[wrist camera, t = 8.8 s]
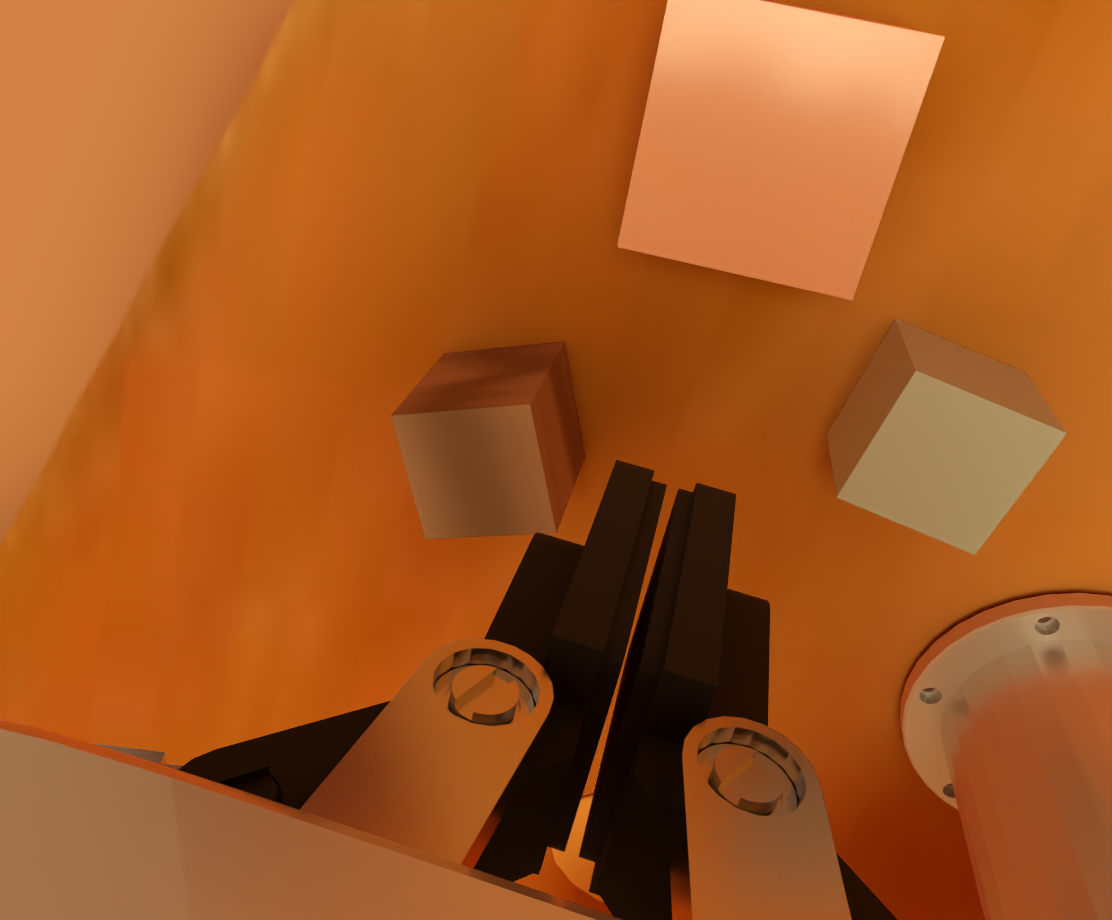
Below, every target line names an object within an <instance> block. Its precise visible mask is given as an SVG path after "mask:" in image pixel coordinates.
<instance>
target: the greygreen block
mask: <svg viewBox="0 0 1112 920" xmlns="http://www.w3.org/2000/svg"><path fill="white" fill-rule="evenodd" d="M1066 434H1067V432H1066V431H1065V429H1064V428H1063V426H1062V425H1061V423H1060V422H1059V420H1058V419H1057V418H1056V416H1055V415H1054V413H1053V412H1052V410H1051V409H1050V407H1049V406H1048V404H1047V403H1046V401H1045V400H1044V398H1043V397H1042V396H1041V394H1040V393H1039V391H1038V390H1037V388H1036V387H1035V385H1034V384H1033V382H1032V381H1031V379H1030V378H1029V376H1028V375H1027V374H1026V373H1025V372H1023V371H1021V370H1018V369H1016V368H1013V367H1011V366H1009V365H1006V364H1004V363H1001V362H999V361H996V360H994V359H992V358H989V357H987V356H984V355H982V354H980V353H977V352H975V351H972V350H970V349H967V348H965V347H963V346H960V345H958V344H955V343H953V342H951V341H948V340H946V339H943V338H941V337H938V336H936V335H934V334H931V333H929V332H926V331H924V330H922V329H919V328H917V327H914V326H912V325H909V324H907V323H905V322H902V321H900V320H897V319H894V321H893V323H892V324H891V326H890V328H889V330H888V331H887V333H886V335H885V336H884V338H883V340H882V341H881V343H880V345H879V346H878V348H877V350H876V352H875V353H874V355H873V357H872V358H871V360H870V362H869V363H868V365H867V367H866V368H865V370H864V372H863V373H862V375H861V377H860V379H859V380H858V382H857V384H856V385H855V387H854V389H853V390H852V392H851V394H850V395H849V397H848V399H847V401H846V402H845V404H844V406H843V407H842V409H841V411H840V412H839V414H838V416H837V417H836V419H835V421H834V423H833V424H832V426H831V428H830V429H829V431H828V433H827V437H828V444H829V451H830V458H831V464H832V471H833V478H834V485H835V492H836V498H839V499H841V500H843V501H846V502H848V503H851V504H853V505H855V506H858V507H860V508H863V509H865V510H867V511H870V512H872V513H875V514H877V515H879V516H882V517H884V518H887V519H889V520H891V521H894V522H896V523H899V524H901V525H904V526H906V527H908V528H911V529H913V530H916V531H918V532H920V533H923V534H925V535H928V536H930V537H932V538H935V539H937V540H940V541H942V542H944V543H947V544H949V545H952V546H954V547H956V548H959V549H961V550H964V551H966V552H968V553H971V554H973V555H975V554H976V553H977V552H978V550H979V549H980V548H981V546H982V545H983V544H984V542H985V541H986V540H987V538H988V537H989V536H990V534H991V533H992V532H993V531H994V529H995V528H996V527H997V525H998V524H999V523H1000V521H1001V520H1002V519H1003V517H1004V516H1005V515H1006V513H1007V512H1008V511H1009V509H1010V508H1011V507H1012V505H1013V504H1014V503H1015V501H1016V500H1017V499H1018V498H1019V496H1020V495H1021V494H1022V492H1023V491H1024V490H1025V488H1026V487H1027V486H1028V484H1029V483H1030V482H1031V480H1032V479H1033V478H1034V476H1035V475H1036V474H1037V472H1038V471H1039V470H1040V469H1041V467H1042V466H1043V465H1044V463H1045V462H1046V461H1047V459H1048V458H1049V457H1050V455H1051V454H1052V453H1053V451H1054V450H1055V449H1056V447H1057V446H1058V445H1059V443H1060V442H1061V441H1062V440H1063V438H1064V437H1065V436H1066Z"/></svg>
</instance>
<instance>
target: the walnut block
mask: <svg viewBox="0 0 1112 920" xmlns="http://www.w3.org/2000/svg"><path fill="white" fill-rule="evenodd" d="M391 418H392V422H393V426H394V429H395V433H396V436H397V440H398V443H399V447H400V451H401V454H402V458H403V461H404V465H405V468H406V472H407V475H408V479H409V483H410V486H411V490H412V493H413V497H414V500H415V504H416V508H417V511H418V515H419V518H420V522H421V525H422V529H423V533H424V536H425V539H434V538H457V537H480V536H503V535H525V534H535V533H537V532H539V533H542V534H548V533H557V530H558V527H559V525H560V522H561V519H562V517H563V514H564V511H565V508H566V506H567V503H568V500H569V498H570V495H571V492H572V490H573V487H574V484H575V482H576V479H577V476H578V474H579V471H580V468H581V466H582V463H583V460H584V458H585V453H584V447H583V442H582V436H581V430H580V425H579V419H578V414H577V408H576V403H575V397H574V391H573V386H572V380H571V375H570V369H569V363H568V358H567V352H566V347H565V341H564V342H554V343H544V344H535V345H525V346H515V347H505V348H495V349H485V350H475V351H465V352H455V353H445V354H443V356H442V357H441V358H440V359H439V360H438V361H437V363H436V364H435V365H434V366H433V367H432V368H431V370H430V371H429V372H428V373H427V374H426V375H425V377H424V378H423V379H422V380H421V381H420V382H419V384H418V385H417V386H416V387H415V388H414V389H413V391H412V392H411V393H410V394H409V395H408V396H407V398H406V399H405V400H404V401H403V402H402V403H401V405H400V406H399V407H398V408H397V409H396V410H395V412H394V413H393V414H392V415H391Z"/></svg>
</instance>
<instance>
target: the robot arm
mask: <svg viewBox="0 0 1112 920" xmlns="http://www.w3.org/2000/svg"><path fill="white" fill-rule="evenodd" d="M653 474H654V471H653V470H650V469H646V468H643V467H639V466H636V465H632V464H629V463H626V462H622V461H619V460H616V463H615V465H614V468H613V471H612V474H611V476H610V479H609V482H608V484H607V487H606V490H605V492H604V495H603V498H602V500H601V503H600V506H599V508H598V511H597V514H596V517H595V519H594V522H593V525H592V527H591V530H590V533H589V535H588V538H587V541H586V543H585V546H582V545H579V544H576V543H572V542H569V541H565V540H562V539H559V538H555V537H552V536H549V535H545V534H542V533H539V532H537V533H535V535H534V537H533V538H532V540H531V542H530V544H529V547H528V549H527V551H526V553H525V555H524V557H523V559H522V561H521V563H520V565H519V567H518V570H517V572H516V574H515V576H514V578H513V580H512V582H511V584H510V586H509V588H508V591H507V593H506V595H505V597H504V599H503V601H502V603H501V605H500V607H499V609H498V611H497V614H496V616H495V618H494V620H493V622H492V624H491V626H490V628H489V630H488V632H487V634H486V637H485V639H467V640H460V641H455V642H452V643H450V644H447V645H445V646H442V647H440V648H438V649H437V650H436V651H435V652H433V653H432V654H431V655H430V656H429V657H427V658H426V659H425V661H424V662H423V663H422V664H421V665H420V667H419V668H418V669H417V670H416V671H415V673H414V674H413V675H412V676H411V677H410V678H409V680H408V681H407V682H406V683H405V684H404V686H403V687H402V688H401V689H400V690H399V692H398V693H397V694H396V695H395V696H394V698H393V699H392V700H391V701H388V702H385V703H381V704H378V705H374V706H370V707H367V708H363V709H360V710H356V711H352V712H349V713H345V714H342V715H338V716H334V717H331V718H327V719H324V720H320V721H316V722H313V723H309V724H306V725H302V726H298V727H295V728H291V729H288V730H284V731H281V732H277V733H273V734H270V735H266V736H263V737H259V738H255V739H252V740H248V741H245V742H241V743H237V744H234V745H230V746H227V747H223V748H219V749H216V750H213V751H211V752H209V753H206V754H204V755H201V756H199V757H196V758H194V759H192V760H191V761H189V762H188V763H187V764H185V765H184V766H178V765H169V764H165V752H158V751H150V750H142V749H134V748H126V747H118V746H110V745H101V744H93V743H89V742H85V741H82V740H78V739H75V738H71V737H68V736H64V735H61V734H57V733H54V732H50V731H47V730H43V729H40V728H36V727H32V726H27V725H22V724H17V723H12V722H7V721H2V720H0V920H897V919H896V918H895V917H894V916H893V915H892V913H891V912H890V911H889V910H888V909H887V908H886V907H885V906H884V905H883V904H882V902H881V901H880V900H879V899H878V898H877V897H876V896H875V895H874V894H873V893H872V891H871V890H870V889H869V888H868V887H867V886H866V885H865V884H864V883H863V882H862V881H861V879H860V878H859V877H858V876H857V875H856V874H855V873H854V872H853V871H852V870H851V868H850V867H849V866H848V865H847V864H846V863H845V862H844V861H843V860H842V859H841V858H840V856H839V855H838V854H837V853H836V850H835V846H834V842H833V837H832V833H831V829H830V824H829V820H828V816H827V812H826V807H825V803H824V799H823V794H822V790H821V786H820V782H819V780H818V777H817V775H816V773H815V770H814V768H813V766H812V764H811V763H810V762H809V760H808V759H807V758H806V756H805V755H804V754H803V753H802V751H801V750H800V749H799V748H798V747H797V746H796V745H794V744H793V743H792V742H791V741H790V740H788V739H787V738H786V737H785V736H784V735H782V734H780V733H778V732H777V731H775V730H773V729H771V728H769V727H768V690H769V637H770V604H769V602H768V601H767V600H763V599H760V598H757V597H753V596H750V595H747V594H743V593H740V592H737V591H733V590H730V589H727V585H728V575H729V564H730V554H731V543H732V533H733V522H734V512H735V501H736V494H734V493H730V492H727V491H723V490H720V489H716V488H713V487H709V486H706V485H702V484H699V483H697V484H696V486H695V488H694V491H693V492H689V491H686V490H682V489H679V490H678V492H677V495H676V498H675V502H674V505H673V508H672V511H671V514H670V518H669V521H668V524H667V527H666V531H665V534H664V537H663V540H662V544H661V547H660V550H659V553H658V556H657V560H656V563H655V566H654V569H653V573H652V576H651V579H650V582H649V586H648V589H647V592H646V595H645V598H644V602H643V605H642V608H641V611H640V615H639V618H638V621H637V624H636V628H635V631H634V634H633V637H632V641H631V644H630V647H629V651H628V654H627V658H626V662H625V666H624V670H623V674H622V678H621V683H620V687H619V691H618V695H617V699H616V703H615V707H614V711H613V716H612V720H611V724H610V728H609V732H608V736H607V740H606V745H605V749H604V753H603V757H602V761H601V765H600V769H599V774H598V778H597V782H596V786H595V790H594V794H593V798H592V802H591V807H590V811H589V815H588V819H587V823H586V827H585V831H584V836H583V840H582V844H581V848H580V853H579V857H581V858H584V859H587V860H590V861H593V862H595V865H594V870H593V874H592V879H591V883H590V888H589V892H591V893H593V894H596V895H599V896H600V897H601V898H602V900H603V901H604V903H605V904H606V906H607V907H608V909H609V910H610V912H611V913H612V915H613V916H611V915H608V914H605V913H602V912H599V911H596V910H593V909H590V908H587V907H584V906H582V905H579V904H576V903H573V902H570V901H567V900H564V899H561V898H558V897H555V896H552V895H549V894H546V893H543V892H541V891H538V890H535V889H532V888H529V887H526V886H523V885H520V884H517V883H514V881H516V880H519V879H521V878H523V877H526V876H528V875H530V874H532V873H535V874H538V875H539V871H540V870H541V866H542V863H543V859H544V856H545V852H546V849H547V846H548V847H551V848H554V849H557V850H560V851H563V852H565V849H566V846H567V843H568V839H569V836H570V833H571V830H572V827H573V823H574V820H575V817H576V814H577V810H578V807H579V804H580V801H581V797H582V794H583V791H584V788H585V784H586V781H587V778H588V775H589V771H590V768H591V765H592V762H593V758H594V755H595V752H596V749H597V745H598V742H599V739H600V736H601V733H602V729H603V726H604V723H605V720H606V716H607V713H608V710H609V707H610V703H611V700H612V697H613V694H614V690H615V687H616V684H617V681H618V677H619V674H620V670H621V667H622V663H623V660H624V656H625V653H626V649H627V645H628V641H629V637H630V633H631V629H632V625H633V621H634V617H635V613H636V609H637V604H638V600H639V596H640V592H641V588H642V584H643V580H644V576H645V572H646V568H647V564H648V560H649V555H650V551H651V547H652V543H653V539H654V535H655V531H656V527H657V523H658V519H659V515H660V511H661V506H662V502H663V498H664V494H665V490H666V486H667V485H665V484H661V483H658V482H654V481H652V478H653ZM900 726H901V731H902V735H903V741H904V747H905V749H906V752H907V754H908V757H909V759H910V762H911V764H912V767H913V768H914V769H915V771H916V772H917V774H918V775H919V776H920V778H921V779H922V781H923V782H924V783H925V785H926V786H927V787H928V788H929V789H930V790H931V791H932V792H933V793H935V794H936V795H937V796H938V797H939V798H940V799H941V800H943V801H944V802H946V803H947V804H949V805H950V806H952V807H954V808H955V809H957V810H958V811H959V814H960V818H961V822H962V827H963V831H964V835H965V839H966V843H967V848H968V852H969V856H970V860H971V864H972V869H973V873H974V877H975V881H976V885H977V890H978V894H979V898H980V902H981V906H982V910H983V915H984V919H985V920H1112V596H1109V595H1098V594H1088V593H1068V594H1047V595H1042V596H1036V597H1031V598H1026V599H1021V600H1015V601H1012V602H1009V603H1006V604H1003V605H1000V606H997V607H994V608H991V609H988V610H986V611H983V612H981V613H979V614H977V615H975V616H973V617H971V618H970V619H968V620H966V621H964V622H962V623H960V624H958V625H956V626H955V627H954V628H952V629H951V630H950V631H948V632H947V633H946V634H945V635H943V636H942V637H941V638H939V639H938V640H937V641H935V642H934V643H933V644H932V645H931V647H930V648H929V649H928V650H927V651H926V652H925V653H924V654H923V656H922V657H921V658H920V659H919V660H918V661H917V663H916V665H915V666H914V668H913V670H912V672H911V674H910V675H909V677H908V679H907V681H906V683H905V687H904V691H903V694H902V698H901V701H900Z"/></svg>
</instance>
